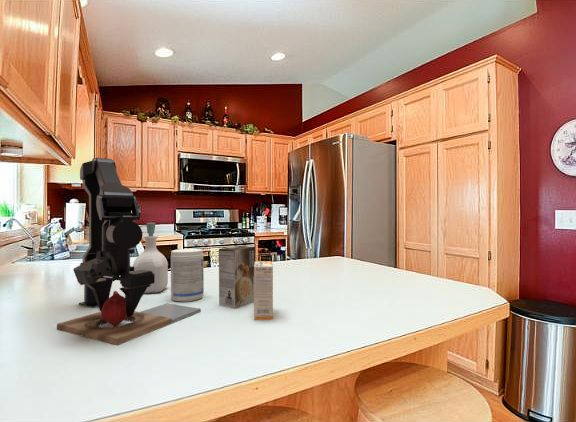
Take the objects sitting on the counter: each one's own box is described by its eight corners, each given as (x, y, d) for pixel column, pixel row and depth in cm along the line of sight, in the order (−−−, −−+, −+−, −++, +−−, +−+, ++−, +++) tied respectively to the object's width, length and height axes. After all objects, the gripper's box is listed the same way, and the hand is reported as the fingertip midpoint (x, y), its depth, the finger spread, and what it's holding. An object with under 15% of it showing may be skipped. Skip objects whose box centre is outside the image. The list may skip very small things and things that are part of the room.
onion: (135, 323, 75) (135, 289, 75) (115, 332, 70) (115, 295, 70) (116, 320, 77) (116, 287, 77) (94, 329, 71) (95, 292, 72)
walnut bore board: (56, 329, 71) (56, 323, 71) (114, 312, 84) (114, 307, 84) (117, 345, 63) (117, 338, 63) (171, 323, 75) (171, 318, 75)
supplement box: (253, 310, 86) (254, 261, 86) (271, 309, 86) (272, 260, 86) (253, 320, 77) (253, 265, 78) (273, 319, 78) (273, 265, 78)
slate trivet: (129, 318, 79) (129, 315, 79) (166, 306, 89) (167, 303, 89) (165, 325, 73) (165, 322, 73) (200, 311, 84) (200, 308, 84)
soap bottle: (140, 288, 112) (140, 222, 112) (169, 287, 113) (169, 222, 113) (130, 294, 102) (130, 223, 103) (161, 294, 103) (161, 223, 104)
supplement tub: (209, 298, 98) (209, 250, 98) (179, 304, 91) (179, 252, 91) (194, 292, 105) (194, 247, 105) (165, 298, 98) (165, 250, 98)
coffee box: (239, 298, 98) (239, 245, 98) (256, 301, 95) (256, 246, 95) (217, 305, 90) (218, 248, 90) (235, 309, 87) (235, 249, 87)
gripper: (54, 246, 70) (53, 318, 70) (110, 250, 62) (110, 331, 62) (102, 242, 80) (102, 305, 80) (156, 245, 72) (156, 315, 72)
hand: (115, 313), depth 73 cm, fingers open, 9 cm apart
